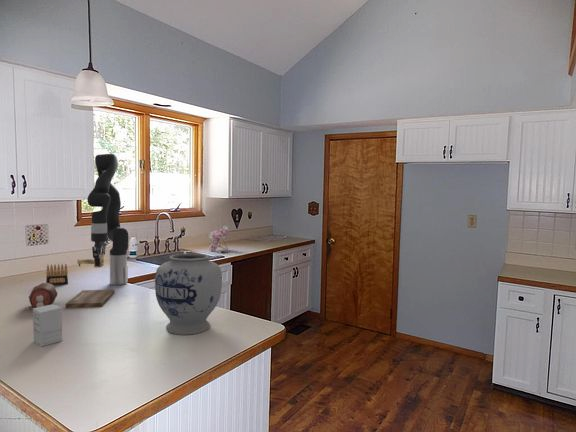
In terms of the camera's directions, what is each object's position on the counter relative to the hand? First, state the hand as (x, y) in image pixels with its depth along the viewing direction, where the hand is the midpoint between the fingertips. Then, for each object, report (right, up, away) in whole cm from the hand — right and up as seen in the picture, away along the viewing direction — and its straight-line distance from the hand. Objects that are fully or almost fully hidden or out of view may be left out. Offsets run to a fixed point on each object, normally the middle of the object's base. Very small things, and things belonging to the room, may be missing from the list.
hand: (99, 264), depth 202 cm
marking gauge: (-4, -1, -1) cm, 4 cm away
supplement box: (+9, -21, -58) cm, 62 cm away
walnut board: (-1, -17, -6) cm, 18 cm away
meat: (-18, -18, -17) cm, 31 cm away
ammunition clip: (-35, -14, +22) cm, 44 cm away
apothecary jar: (+56, -21, -39) cm, 72 cm away
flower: (+34, -7, +146) cm, 150 cm away
